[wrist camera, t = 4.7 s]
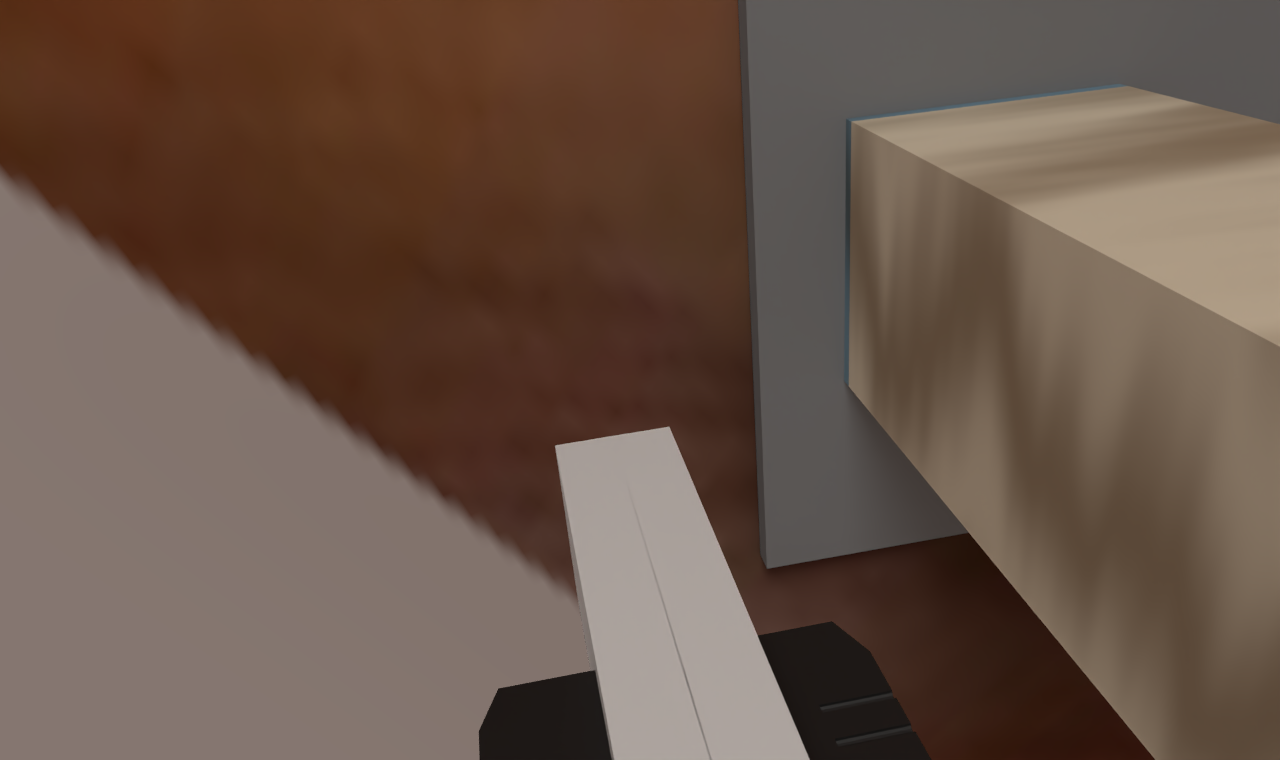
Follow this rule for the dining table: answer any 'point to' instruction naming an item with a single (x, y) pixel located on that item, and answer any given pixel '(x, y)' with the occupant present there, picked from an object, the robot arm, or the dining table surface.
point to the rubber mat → (816, 189)
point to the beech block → (1092, 378)
